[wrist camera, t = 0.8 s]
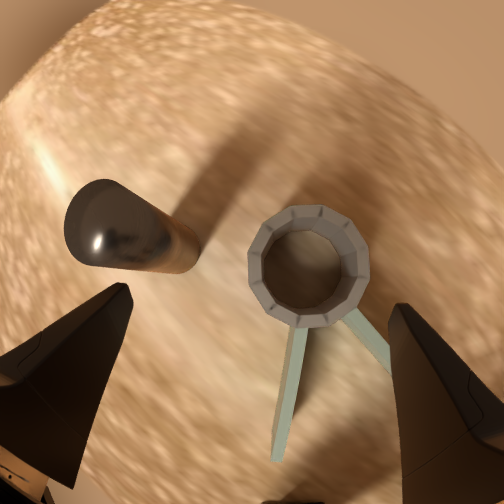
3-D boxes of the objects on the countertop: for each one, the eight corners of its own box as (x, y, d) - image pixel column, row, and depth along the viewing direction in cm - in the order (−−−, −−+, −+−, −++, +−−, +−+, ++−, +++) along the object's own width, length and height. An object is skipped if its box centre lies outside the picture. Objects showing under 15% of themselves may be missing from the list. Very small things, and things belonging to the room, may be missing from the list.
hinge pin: (200, 273, 24) (133, 264, 12) (154, 274, 24) (62, 267, 12) (199, 223, 24) (136, 173, 12) (154, 226, 25) (67, 185, 13)
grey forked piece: (405, 416, 21) (428, 439, 16) (259, 432, 22) (256, 462, 17) (406, 217, 23) (433, 203, 18) (251, 222, 24) (245, 207, 19)
